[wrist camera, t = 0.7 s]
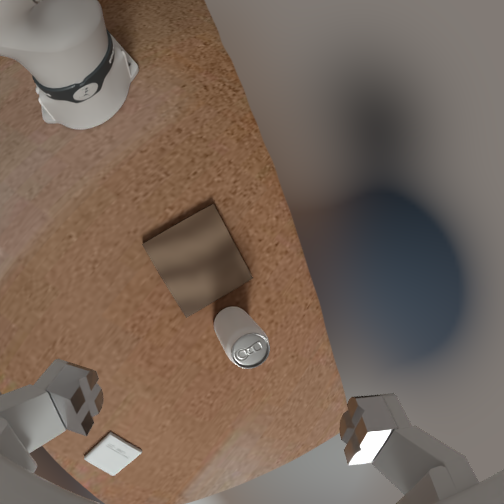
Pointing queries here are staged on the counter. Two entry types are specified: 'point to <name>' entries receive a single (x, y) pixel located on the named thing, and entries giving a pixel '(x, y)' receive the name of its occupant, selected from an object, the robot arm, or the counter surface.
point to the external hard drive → (112, 454)
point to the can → (241, 337)
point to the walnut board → (198, 260)
